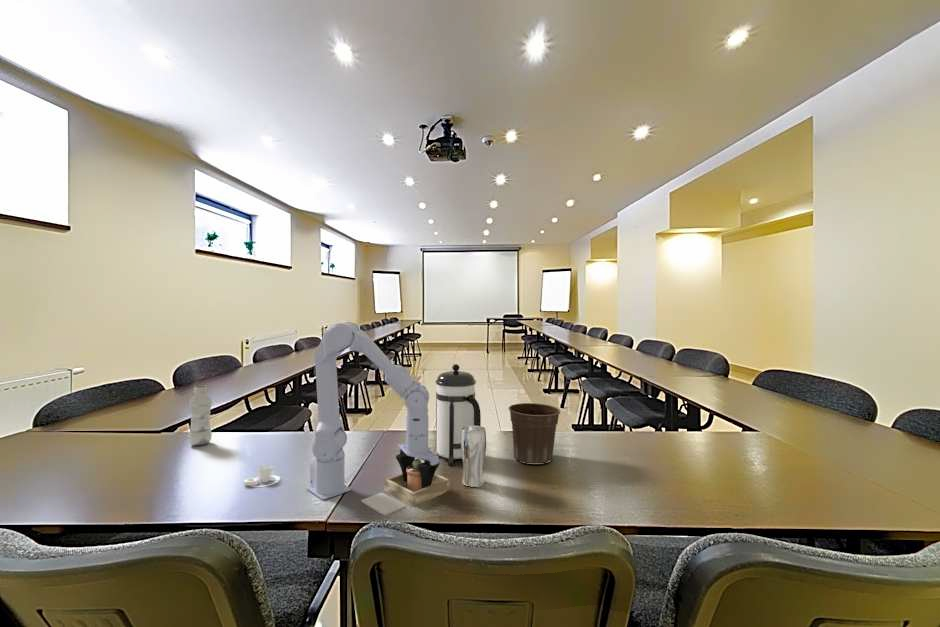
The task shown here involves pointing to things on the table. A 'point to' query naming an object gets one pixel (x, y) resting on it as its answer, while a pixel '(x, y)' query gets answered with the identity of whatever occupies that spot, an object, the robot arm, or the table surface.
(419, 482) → the terracotta pot
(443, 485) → the frame
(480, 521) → the table surface
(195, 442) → the plastic bottle
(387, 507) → the grey mat
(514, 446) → the plant pot
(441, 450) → the coffee press
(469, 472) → the silver drink can
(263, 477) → the teacup and saucer
